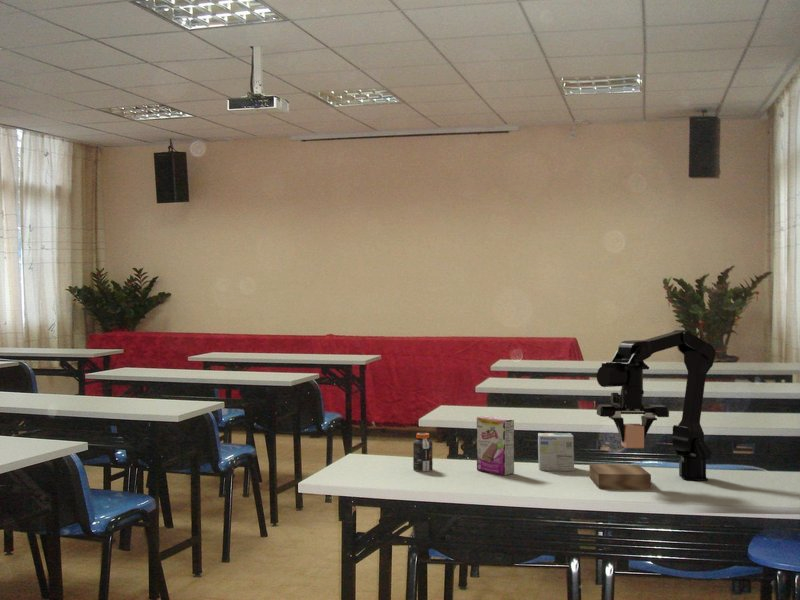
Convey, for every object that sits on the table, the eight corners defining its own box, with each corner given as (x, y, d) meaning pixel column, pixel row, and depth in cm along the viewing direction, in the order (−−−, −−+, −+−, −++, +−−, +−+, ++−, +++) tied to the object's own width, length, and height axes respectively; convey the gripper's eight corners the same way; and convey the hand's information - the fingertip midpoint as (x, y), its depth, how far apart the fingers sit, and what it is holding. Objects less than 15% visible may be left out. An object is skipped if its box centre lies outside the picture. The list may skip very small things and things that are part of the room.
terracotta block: (639, 445, 218) (639, 423, 219) (644, 448, 213) (644, 426, 214) (621, 444, 219) (621, 423, 219) (625, 447, 214) (625, 426, 214)
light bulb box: (572, 467, 242) (571, 432, 243) (574, 471, 236) (574, 436, 236) (537, 466, 243) (537, 432, 244) (539, 470, 237) (539, 435, 237)
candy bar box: (475, 470, 237) (475, 417, 237) (486, 468, 241) (486, 415, 241) (504, 476, 229) (504, 420, 229) (515, 473, 232) (514, 419, 233)
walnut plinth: (638, 478, 225) (638, 464, 225) (651, 489, 211) (650, 474, 211) (589, 477, 226) (589, 464, 226) (599, 488, 212) (598, 474, 212)
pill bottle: (433, 472, 235) (433, 434, 235) (413, 472, 235) (413, 434, 235) (432, 468, 241) (431, 431, 241) (412, 468, 241) (412, 431, 241)
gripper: (657, 383, 224) (657, 437, 224) (592, 383, 225) (592, 437, 225) (669, 387, 213) (669, 444, 213) (601, 386, 214) (601, 443, 213)
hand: (632, 441), depth 216 cm, fingers closed on terracotta block, 5 cm apart
